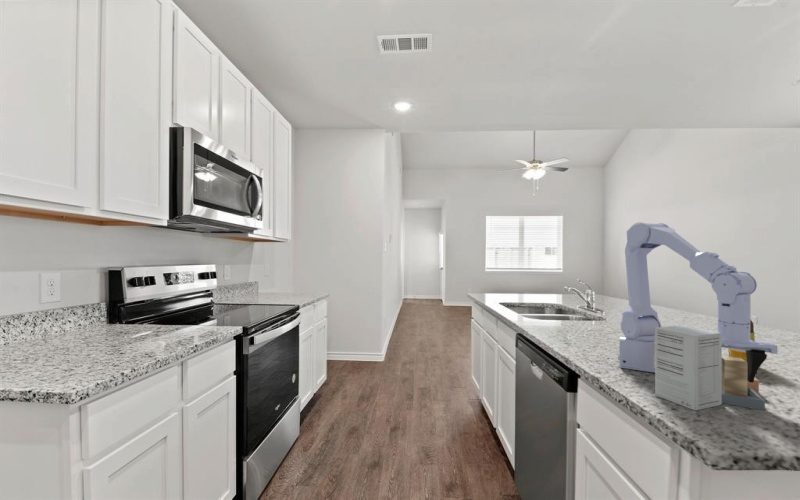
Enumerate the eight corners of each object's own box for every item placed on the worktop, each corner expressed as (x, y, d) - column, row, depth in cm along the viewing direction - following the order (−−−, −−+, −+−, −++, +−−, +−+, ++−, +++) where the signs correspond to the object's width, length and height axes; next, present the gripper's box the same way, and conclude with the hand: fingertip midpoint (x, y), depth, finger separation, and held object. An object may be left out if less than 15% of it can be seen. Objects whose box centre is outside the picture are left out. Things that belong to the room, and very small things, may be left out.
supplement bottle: (733, 367, 109) (733, 336, 109) (757, 372, 105) (758, 340, 105) (728, 370, 106) (728, 338, 107) (752, 376, 102) (752, 342, 102)
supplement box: (680, 390, 91) (680, 324, 91) (723, 405, 82) (723, 332, 82) (653, 395, 88) (653, 326, 88) (695, 411, 79) (695, 335, 79)
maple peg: (724, 397, 85) (724, 359, 85) (719, 392, 88) (719, 355, 88) (747, 401, 83) (747, 362, 83) (741, 395, 86) (741, 358, 86)
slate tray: (714, 401, 84) (714, 392, 84) (705, 389, 91) (706, 381, 91) (764, 410, 80) (764, 400, 80) (751, 396, 87) (751, 388, 87)
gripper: (698, 321, 86) (698, 378, 86) (783, 328, 78) (782, 390, 78) (692, 317, 92) (692, 369, 92) (770, 323, 85) (770, 380, 84)
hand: (733, 378), depth 86 cm, fingers open, 5 cm apart
